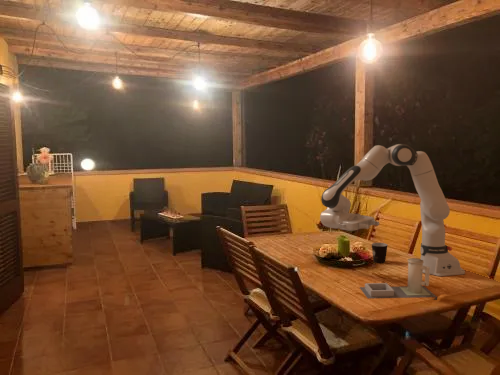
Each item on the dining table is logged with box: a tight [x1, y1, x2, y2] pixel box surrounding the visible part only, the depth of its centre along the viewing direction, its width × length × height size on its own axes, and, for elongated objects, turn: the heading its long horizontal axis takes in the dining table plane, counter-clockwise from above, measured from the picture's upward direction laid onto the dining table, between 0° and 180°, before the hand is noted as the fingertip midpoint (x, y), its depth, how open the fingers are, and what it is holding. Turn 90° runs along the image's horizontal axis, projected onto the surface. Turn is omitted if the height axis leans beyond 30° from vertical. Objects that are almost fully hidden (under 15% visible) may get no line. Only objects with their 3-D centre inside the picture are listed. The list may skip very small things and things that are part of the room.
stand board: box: [359, 282, 438, 301], centre depth 190 cm, size 30×14×4 cm, turn 90°
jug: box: [407, 257, 430, 293], centre depth 188 cm, size 9×7×14 cm
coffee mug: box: [371, 242, 388, 264], centre depth 242 cm, size 12×9×10 cm
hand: (373, 225), depth 205 cm, fingers open, 8 cm apart
